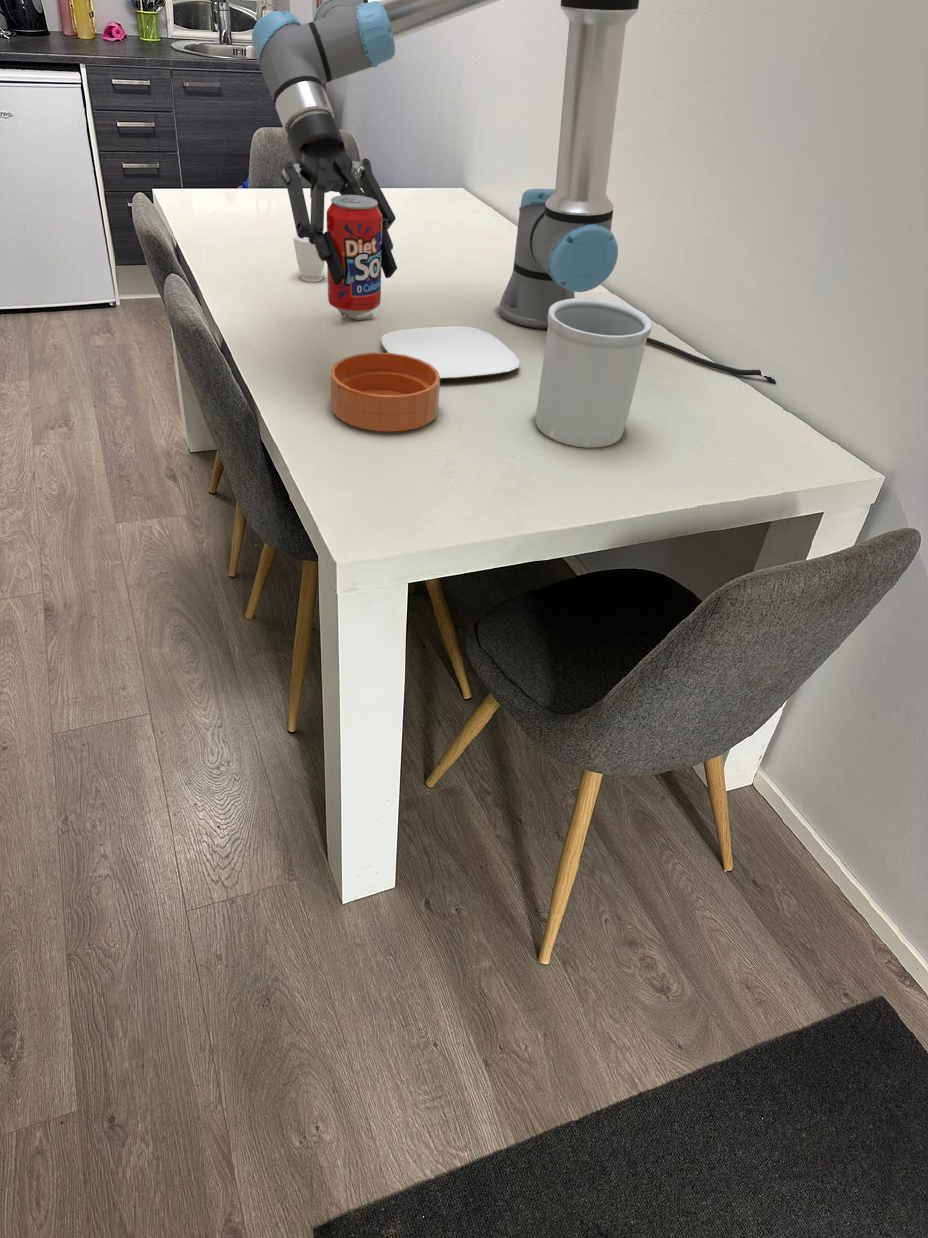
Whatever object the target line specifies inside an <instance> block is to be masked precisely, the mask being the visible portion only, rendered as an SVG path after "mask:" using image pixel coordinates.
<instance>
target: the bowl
mask: <svg viewBox="0 0 928 1238" xmlns="http://www.w3.org/2000/svg"><path fill="white" fill-rule="evenodd" d="M440 389H441V379H440V376H439V373H438V371H437V370H436V369H435V368H434V367H433V366H432V365H430V364H428V363H426V362H424V361H422V360H420V359H417V358H413V357H410V356H406V355H401V354H394V353H388V352H365V353H357V354H353V355H350V356H345V357H343V358H341V359H340V360H337V361H336V362H334V364H333V365H332V366H331V368H330V409H331V411H332V413H333V414H334V415H335V416H336V418H338V419H339V420H341V421H343V422H345V423H346V424H347V425H351V426H354V427H357V428H360V429H363V430H369V431H375V432H401V431H402V432H404V431H410V430H416V429H418V428H421V427H425V426H427V425H428V424H429V423H431V422H432V421H433V420H435V419H436V417H437V415H438V412H439V402H440V401H439V400H440Z"/></svg>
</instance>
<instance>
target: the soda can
mask: <svg viewBox="0 0 928 1238" xmlns="http://www.w3.org/2000/svg"><path fill="white" fill-rule="evenodd" d="M330 201H331V203H330V205H329V207H328V208H327V210H326V232H328V231H329V232H330V234H331V237H332V239H333V241H334V244H335V247H336V249H337V252H338V255H339V257H340V260H341V263H342V265H343V268H344V271H345V273H346V276H345V277H344V278H343V280H342V281H341V283H340V284H339V285H335V284H334V281H333V279H332V276H331V273H330V271H329V268H328V265H327V264H326V268H327V270H326V271H327V272H326V273H327V275H326V276H327V301H328V304H330V305H331V306H332V307H333V308H335V309H336V310H337V311H338V312H339V311H341V312H345V314H346V313H350V314H357V315H364V314H369V313H371V312H372V311H374V310H375V309H378V308H379V307H380V305H381V300H382V299H381V298H382V267H381V261H382V213H381V212H380V210H379V208H378V206H377V205H378V202H377V201H376V200H375V199H373V198H370V197H366V196H359V195H341V194H339V195H335V196H333V197H332V198H331V199H330Z"/></svg>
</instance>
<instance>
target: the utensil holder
mask: <svg viewBox="0 0 928 1238" xmlns="http://www.w3.org/2000/svg"><path fill="white" fill-rule="evenodd" d="M652 329H653V322H652V319H650V317H649V316H648V315H646V313H644V312H643V311H641V310H639V309H637V308H635V307H632V306H630V305H627V304H624V303H620V302H617V301H613V300H612V301H611V300H608V299H603V298H593V297H592V298H591V297H590V298H589V297H575V298H573V299H566V300H562V301H559V302H556V303H554V304H553V305H552V306H551V307H550V308H549V311H548V329H547V330H546V331H547V332H546V338H545V343H544V344H545V345H544V353H543V360H542V367H541V375H540V382H539V388H538V389H539V390H538V397H537V404H536V405H537V406H536V416H535V424H536V427H537V428H538V430H539V431H540V432H541V433H542V434H543V435H545V436H546V437H548V438H549V439H551V440H554V441H555V442H559V443H561V444H564V445H567V446H572V447H578V448H587V449H588V448H590V449H593V448H603V447H604V448H605V447H608V446H612V445H614V444H616V443H618V442H619V441H620V439H621V438H622V437H623V434H624V431H625V428H626V424H627V420H628V417H629V413H630V409H631V406H632V402H633V398H634V394H635V390H636V386H637V381H638V377H639V373H640V369H641V365H642V361H643V357H644V352H645V349H646V345H647V343H646V340H647V338H650V337H649V336H650V334H651V332H652Z"/></svg>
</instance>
